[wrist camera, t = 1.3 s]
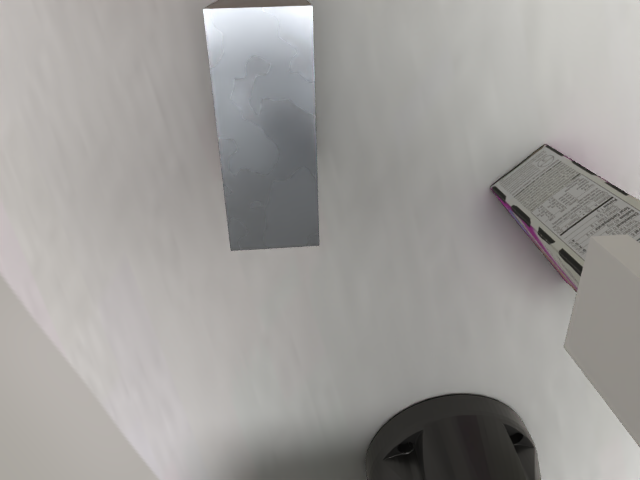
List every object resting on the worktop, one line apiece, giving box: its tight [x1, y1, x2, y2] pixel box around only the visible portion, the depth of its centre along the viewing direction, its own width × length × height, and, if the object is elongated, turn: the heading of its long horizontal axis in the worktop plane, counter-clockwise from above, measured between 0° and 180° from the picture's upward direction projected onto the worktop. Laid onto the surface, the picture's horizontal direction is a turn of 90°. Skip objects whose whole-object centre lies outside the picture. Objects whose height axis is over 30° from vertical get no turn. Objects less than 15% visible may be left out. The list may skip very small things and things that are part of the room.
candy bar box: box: [491, 145, 640, 292], centre depth 31 cm, size 11×5×16 cm, turn 43°
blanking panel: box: [203, 0, 319, 251], centre depth 27 cm, size 10×4×12 cm, turn 1°
